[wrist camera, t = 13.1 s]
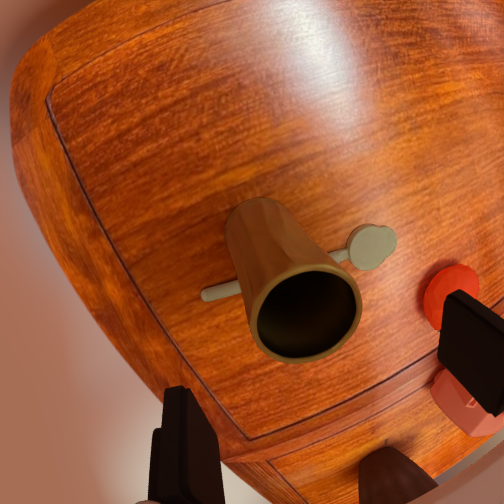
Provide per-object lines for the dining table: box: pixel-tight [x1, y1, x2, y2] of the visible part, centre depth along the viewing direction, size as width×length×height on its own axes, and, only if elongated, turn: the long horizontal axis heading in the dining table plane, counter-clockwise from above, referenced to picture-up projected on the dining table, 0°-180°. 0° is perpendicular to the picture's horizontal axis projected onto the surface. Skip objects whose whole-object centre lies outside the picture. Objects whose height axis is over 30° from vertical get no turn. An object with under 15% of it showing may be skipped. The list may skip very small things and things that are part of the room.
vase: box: [224, 198, 362, 364], centre depth 20 cm, size 6×6×14 cm
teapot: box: [430, 368, 504, 437], centre depth 31 cm, size 22×13×14 cm, turn 65°
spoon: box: [201, 224, 397, 302], centre depth 28 cm, size 19×4×1 cm, turn 104°
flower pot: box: [358, 447, 439, 504], centre depth 35 cm, size 15×15×16 cm
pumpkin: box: [423, 264, 479, 331], centre depth 28 cm, size 7×8×6 cm
